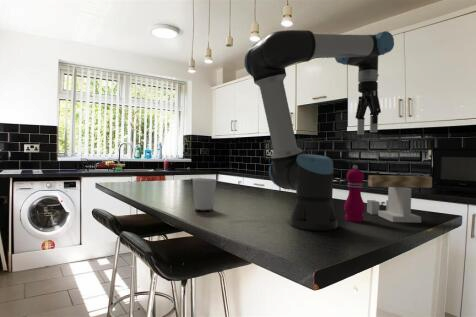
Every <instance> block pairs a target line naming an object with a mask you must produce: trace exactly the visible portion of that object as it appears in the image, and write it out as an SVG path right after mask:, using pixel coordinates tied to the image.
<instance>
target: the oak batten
mask: <svg viewBox="0 0 476 317" xmlns="http://www.w3.org/2000/svg"><path fill="white" fill-rule="evenodd" d="M367 186H368V187H371V188H372V187H373V188H388V187H406V188H417V189H418V188H419V189H421V188H422V189H423V188H426V189H427V188H428V189H430V188H433V177H432V176H428V175H426V176H425V175H424V176H423V175H380V174H379V175H373V174H372V175H370V174H368V175H367Z"/></svg>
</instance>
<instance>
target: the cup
mask: <svg viewBox="0 0 476 317" xmlns="http://www.w3.org/2000/svg"><path fill="white" fill-rule="evenodd" d="M216 187H217V179H216V178H206V177H205V178H204V177H203V178H193V179H192V192H193V203H194V204H193V205H194V211H196V212H199V210H200V212H201V211H204V212H205V211H206V212H212V211H213V210H214V207H215V206H214V205H215V198H216V197H215V196H216ZM212 209H213V210H212Z"/></svg>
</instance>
